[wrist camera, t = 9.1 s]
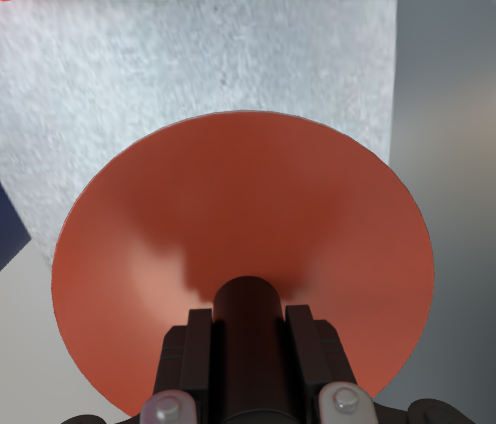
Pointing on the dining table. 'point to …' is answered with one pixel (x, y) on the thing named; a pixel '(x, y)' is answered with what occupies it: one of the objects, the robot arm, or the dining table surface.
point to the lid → (241, 260)
